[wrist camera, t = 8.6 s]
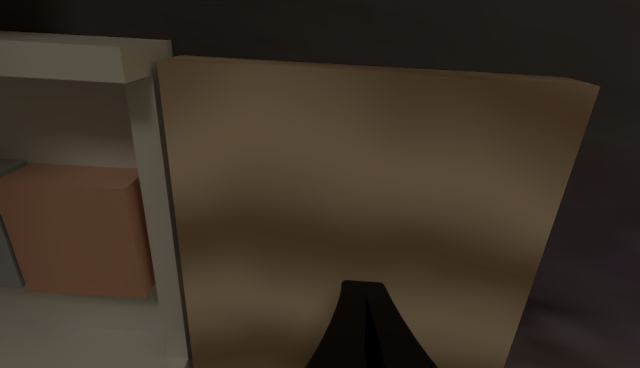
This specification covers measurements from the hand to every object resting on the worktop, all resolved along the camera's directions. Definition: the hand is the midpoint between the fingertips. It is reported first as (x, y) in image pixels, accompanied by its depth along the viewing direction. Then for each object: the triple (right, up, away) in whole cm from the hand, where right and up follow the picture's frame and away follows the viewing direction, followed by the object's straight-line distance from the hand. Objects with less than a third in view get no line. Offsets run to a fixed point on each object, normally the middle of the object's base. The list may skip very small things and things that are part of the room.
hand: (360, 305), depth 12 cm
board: (0, +2, +4) cm, 5 cm away
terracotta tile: (-11, +2, +4) cm, 12 cm away
